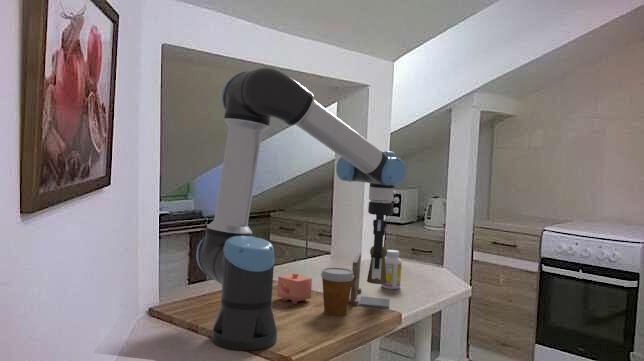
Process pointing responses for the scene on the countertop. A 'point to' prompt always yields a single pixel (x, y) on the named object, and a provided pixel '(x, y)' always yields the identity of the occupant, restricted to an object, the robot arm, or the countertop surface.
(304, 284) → the pink cube teapot
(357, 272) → the screen
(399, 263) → the supplement bottle
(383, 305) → the coaster
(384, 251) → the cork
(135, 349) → the countertop surface
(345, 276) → the disposable coffee cup
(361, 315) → the countertop surface
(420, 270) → the countertop surface
